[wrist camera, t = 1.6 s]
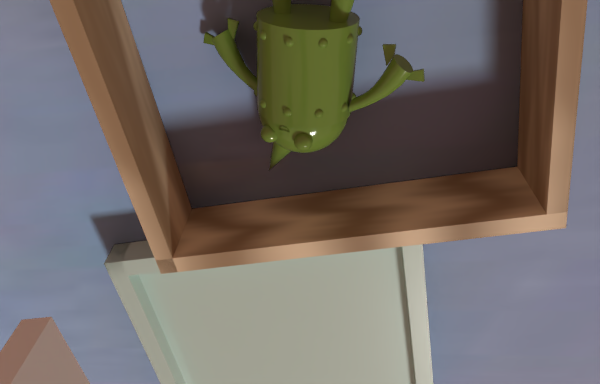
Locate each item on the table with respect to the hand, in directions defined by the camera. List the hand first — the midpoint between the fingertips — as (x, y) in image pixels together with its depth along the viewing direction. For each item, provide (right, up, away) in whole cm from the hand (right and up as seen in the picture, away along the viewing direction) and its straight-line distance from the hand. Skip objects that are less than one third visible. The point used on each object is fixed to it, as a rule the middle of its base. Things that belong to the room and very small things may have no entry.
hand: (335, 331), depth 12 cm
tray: (-2, -7, +28) cm, 29 cm away
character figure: (0, +10, +17) cm, 20 cm away
